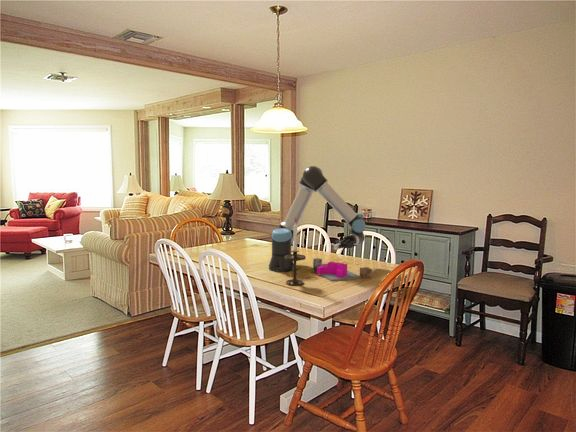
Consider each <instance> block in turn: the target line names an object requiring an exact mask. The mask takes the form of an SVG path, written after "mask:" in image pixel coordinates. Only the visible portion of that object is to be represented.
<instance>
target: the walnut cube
mask: <svg viewBox="0 0 576 432" xmlns="http://www.w3.org/2000/svg"><path fill="white" fill-rule="evenodd" d="M359 276H361V278H360V279H363V280H364V279H372V278H373V269H372V268H370V267H368V266H367V267H365V266H364V267H359Z"/></svg>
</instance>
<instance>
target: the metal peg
mask: <svg viewBox="0 0 576 432" xmlns="http://www.w3.org/2000/svg"><path fill="white" fill-rule="evenodd" d="M312 261H313V262H312V264H313V265H312V266H313V267H312V268H313V269H312V271H313V272H315V273H317V267H319V266H322V262H323V258H319V257H318V258H313V260H312Z"/></svg>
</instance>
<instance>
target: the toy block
mask: <svg viewBox="0 0 576 432" xmlns="http://www.w3.org/2000/svg"><path fill="white" fill-rule="evenodd" d="M327 262H328V265H322V266H319V267H317V272H316V274H317V275H319V274H334V275H337V277H339V278H342V277H344V276H346V275H347V270H348V263H344V262H342V263H341V262H336V261H327Z"/></svg>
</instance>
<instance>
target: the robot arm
mask: <svg viewBox="0 0 576 432" xmlns="http://www.w3.org/2000/svg"><path fill="white" fill-rule="evenodd" d="M328 182H329V181H328V179H327V178H326V177H325V176H324V174H323V171H322V169H321V168H320V167H318V166H315V165H312V166H308V167H306V168H305V169H304V171H303V173H302V176H301V178H300V180H299V189H298V191H297V193H296V196H295V198H294V200H293V202H292V204H291V206H290V208H289V210H288V213H287V214H286V217H285V218H284V221H282V222H280V224H279V225H278V228H276V229H273V230H272V233H271V257H270V260H269V264H268V270H269V271H274V272H279V273H280V272H282V273H283V272H290V271H293V270H292V269H293V268H294V261H292V260H287V259H285V255H289V254H292V252H291V251H292V244H293V236H294V225H295V219H294V218H296V225H297V226H298V225H299V223H300V221H301V219H302V217H303V214H304V212H305V210H306V209H307V207H308V204H309V202H310V200H311V197H312V195H313V193H318V194H319V195H320V196H321V197H323V199H324V201H326V202H327V203H328V204H329V205H330V207H332V209H334V211H335V212H337V214H338V215H339V216H340V217H341V218H342V219H343V220H344V221H345V222H346V223H347V224H348V226H349V227H350V234H348V235H345V236H344V237H343V238H342V239H341V240H339V239H336V240H335V241H334V244H333V250H334V251H338V250H340V249H351V248H352V249H353V248H354V247H357V246H359V245H361V244H362V243H364V242H365V240H366V236H365V234H364V231H365V230H366V222H365V221H364V218H365V217H364V214H363V212H362V213H361V212H355V211H354V209H352V207H351V206H350V205H349V204H348V203H347V202H346V201H345V200H344V199H343V198H342V197H341V196H340V194H338V192H336V190H335V189H334V188H333V187H332V186H331V185H330V184H329V183H328ZM297 232H298V229H297Z"/></svg>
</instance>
